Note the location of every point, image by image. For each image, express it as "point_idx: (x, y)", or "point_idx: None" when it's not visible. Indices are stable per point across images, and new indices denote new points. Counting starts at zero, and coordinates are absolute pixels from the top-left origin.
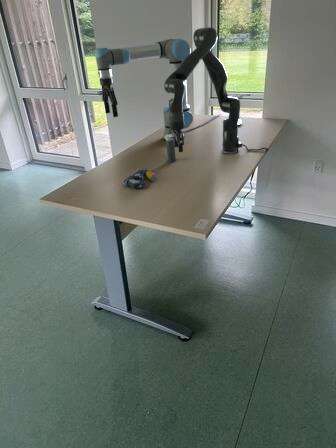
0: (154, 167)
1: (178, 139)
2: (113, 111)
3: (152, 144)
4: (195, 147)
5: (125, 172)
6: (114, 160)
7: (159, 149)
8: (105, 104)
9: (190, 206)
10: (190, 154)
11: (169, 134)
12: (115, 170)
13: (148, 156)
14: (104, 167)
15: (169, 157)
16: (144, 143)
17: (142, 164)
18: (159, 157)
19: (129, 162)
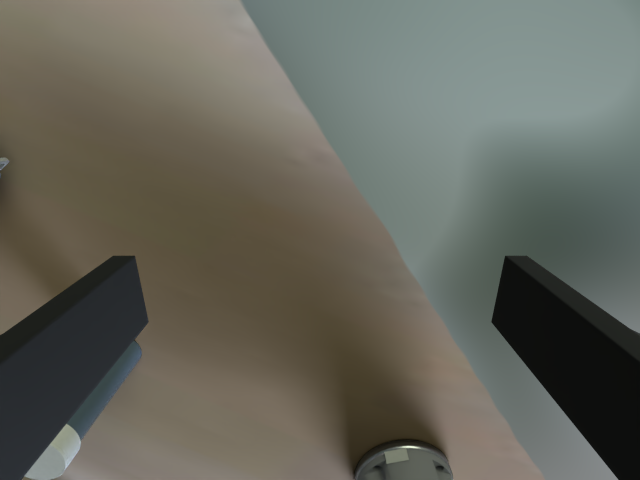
0: (76, 259)
1: (355, 475)
2: (44, 318)
3: (392, 379)
4: (222, 474)
5: (76, 110)
6: (301, 131)
7: (300, 372)
8: (629, 381)
9: None
10: (154, 429)
11: (58, 466)
12: (135, 72)
13: (240, 298)
14: (223, 30)
15: None
16: (438, 359)
17: (147, 231)
18: (195, 329)
19: (215, 189)
